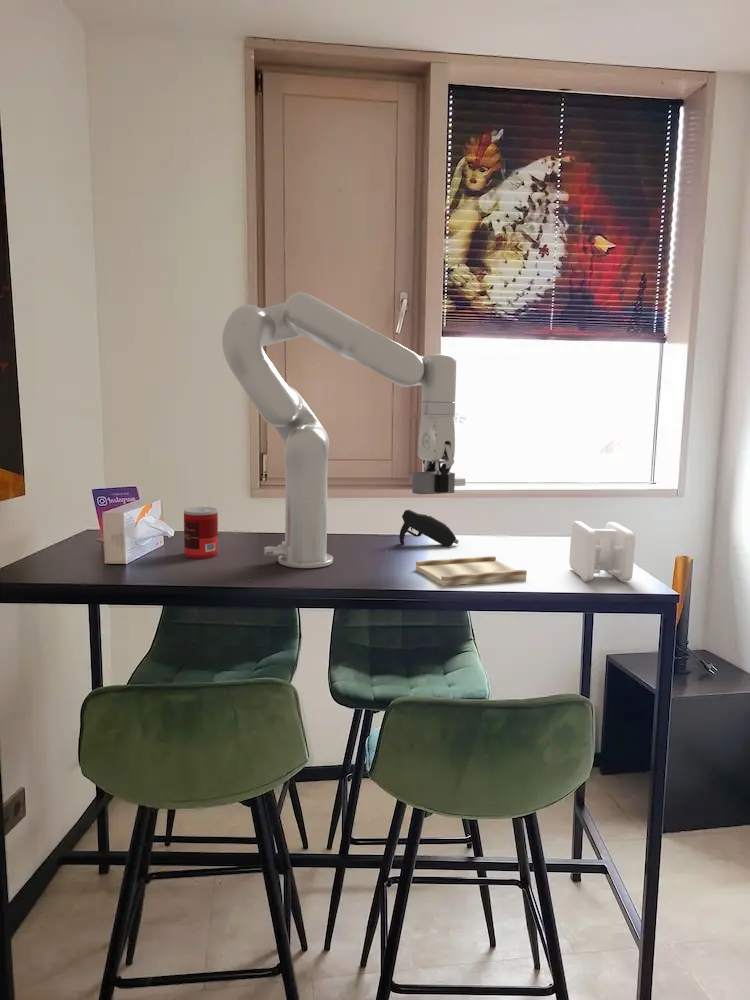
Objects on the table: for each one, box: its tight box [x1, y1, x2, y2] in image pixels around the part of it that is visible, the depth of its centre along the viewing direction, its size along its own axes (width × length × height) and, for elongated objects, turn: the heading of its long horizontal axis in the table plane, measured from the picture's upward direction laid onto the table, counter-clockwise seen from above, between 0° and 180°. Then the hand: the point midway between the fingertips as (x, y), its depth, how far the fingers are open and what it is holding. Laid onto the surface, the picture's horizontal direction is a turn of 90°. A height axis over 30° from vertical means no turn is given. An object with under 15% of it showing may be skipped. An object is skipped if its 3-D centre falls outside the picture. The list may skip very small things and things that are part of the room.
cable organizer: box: [568, 520, 636, 583], centre depth 158 cm, size 15×11×12 cm
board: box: [415, 555, 528, 587], centre depth 157 cm, size 20×14×2 cm
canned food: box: [183, 506, 219, 560], centre depth 167 cm, size 8×8×11 cm
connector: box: [411, 471, 466, 495], centre depth 162 cm, size 12×4×4 cm, turn 112°
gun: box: [399, 509, 460, 548], centre depth 186 cm, size 3×16×10 cm, turn 89°
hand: (436, 489), depth 162 cm, fingers closed on connector, 4 cm apart
